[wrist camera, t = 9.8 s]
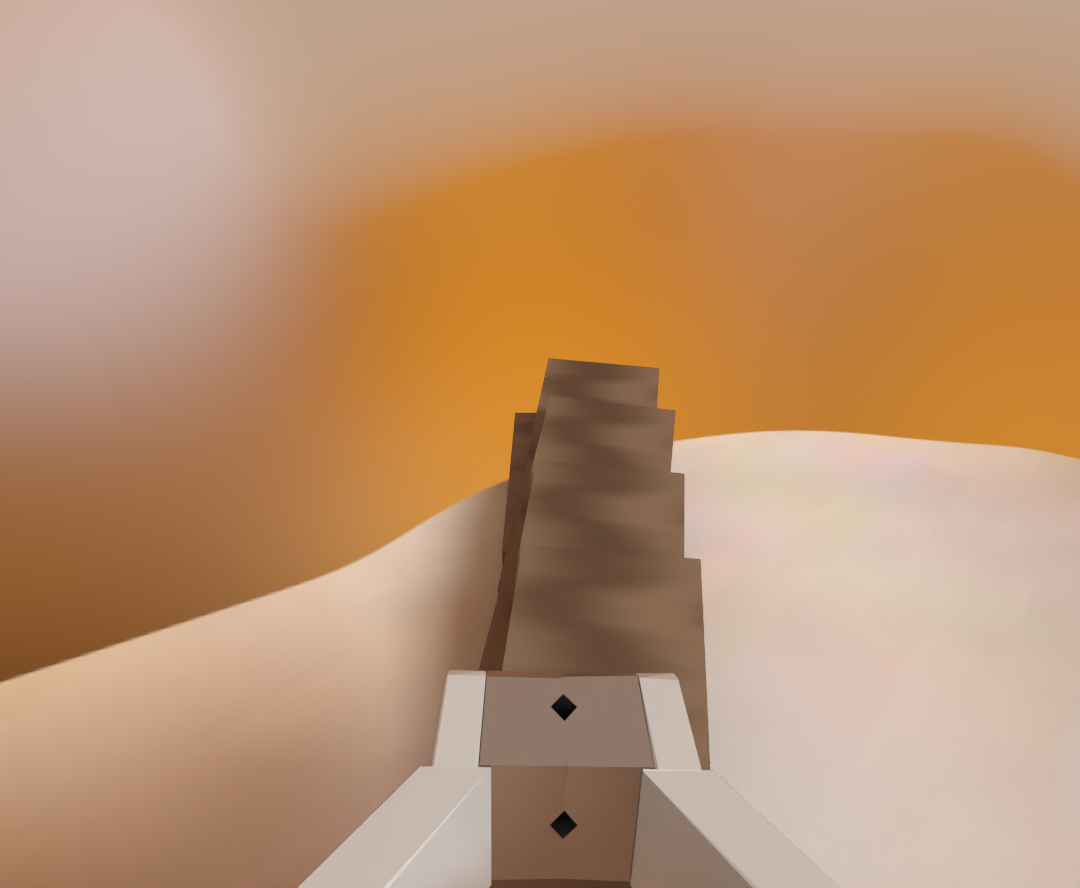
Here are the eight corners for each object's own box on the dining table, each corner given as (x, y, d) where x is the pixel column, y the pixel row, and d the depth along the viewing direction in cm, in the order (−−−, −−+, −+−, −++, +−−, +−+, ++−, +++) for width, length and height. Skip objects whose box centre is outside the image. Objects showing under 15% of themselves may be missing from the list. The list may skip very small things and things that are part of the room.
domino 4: (641, 630, 31) (655, 393, 42) (645, 607, 30) (658, 368, 40) (500, 612, 32) (548, 383, 42) (498, 588, 31) (548, 358, 41)
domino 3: (645, 735, 26) (670, 437, 37) (650, 712, 25) (675, 410, 35) (479, 706, 27) (550, 422, 37) (475, 682, 26) (550, 395, 36)
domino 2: (674, 909, 21) (678, 502, 31) (682, 892, 20) (684, 473, 30) (464, 877, 22) (537, 488, 32) (459, 858, 20) (536, 459, 31)
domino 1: (714, 1188, 16) (693, 589, 26) (729, 1190, 15) (700, 559, 25) (436, 1145, 16) (523, 574, 27) (426, 1142, 15) (522, 544, 26)
